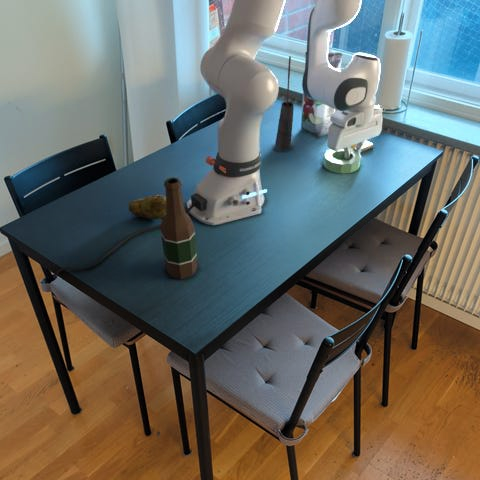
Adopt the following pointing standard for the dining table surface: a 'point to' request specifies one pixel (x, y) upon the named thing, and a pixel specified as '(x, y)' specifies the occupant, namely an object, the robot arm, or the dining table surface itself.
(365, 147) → the stand
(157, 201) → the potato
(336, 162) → the ring
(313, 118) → the juice carton
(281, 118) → the butter churn
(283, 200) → the dining table surface
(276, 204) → the dining table surface
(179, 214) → the beer bottle
